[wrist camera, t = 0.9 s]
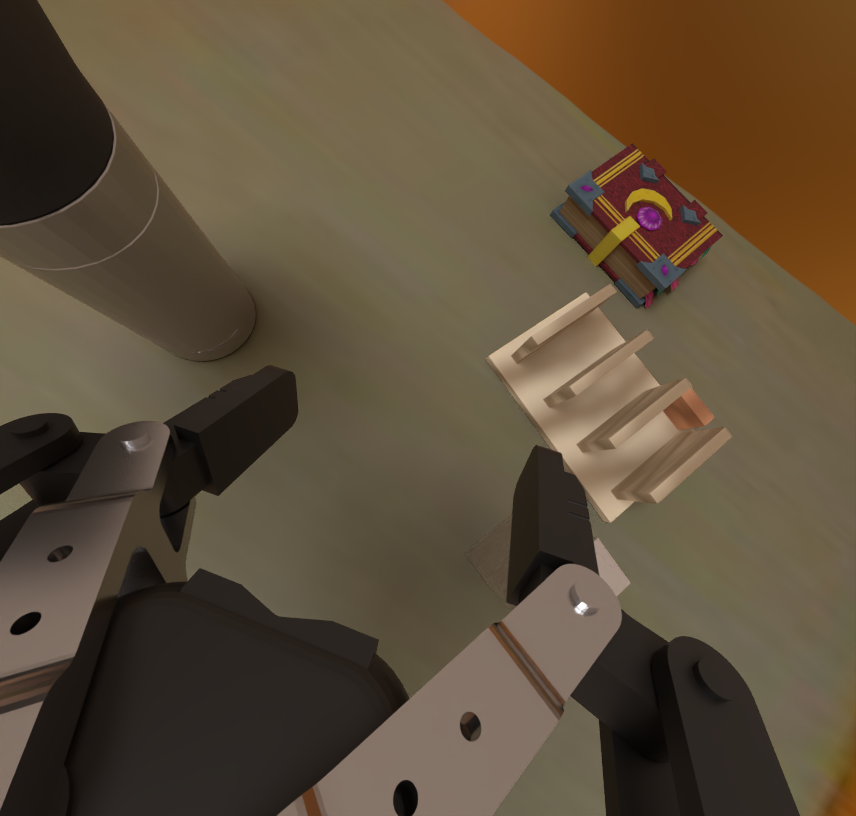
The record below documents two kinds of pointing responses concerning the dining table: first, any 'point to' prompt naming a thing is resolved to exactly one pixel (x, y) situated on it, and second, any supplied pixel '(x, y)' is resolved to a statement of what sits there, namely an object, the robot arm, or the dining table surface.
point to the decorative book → (635, 224)
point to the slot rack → (606, 407)
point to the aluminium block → (494, 561)
